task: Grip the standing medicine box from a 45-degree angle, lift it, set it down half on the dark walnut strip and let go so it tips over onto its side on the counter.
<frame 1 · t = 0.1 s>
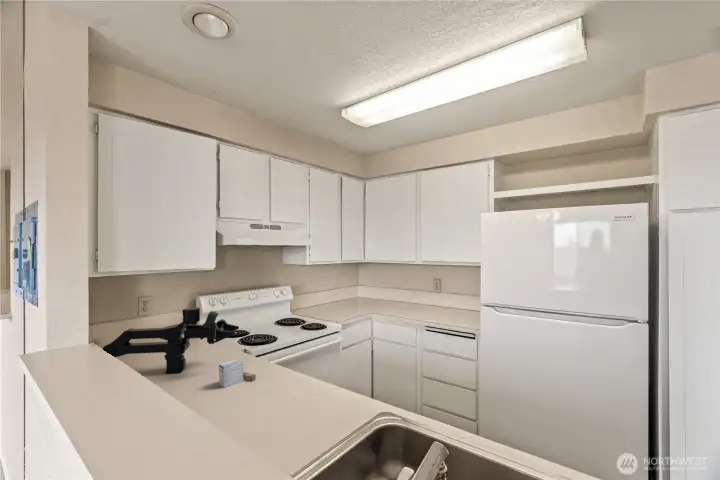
hand: (236, 330, 148), 16 cm above the table, tool horizontal, fingers open, 9 cm apart
walnut tipping strip: (242, 379, 135), on the table
medicine box: (231, 385, 130), on the table
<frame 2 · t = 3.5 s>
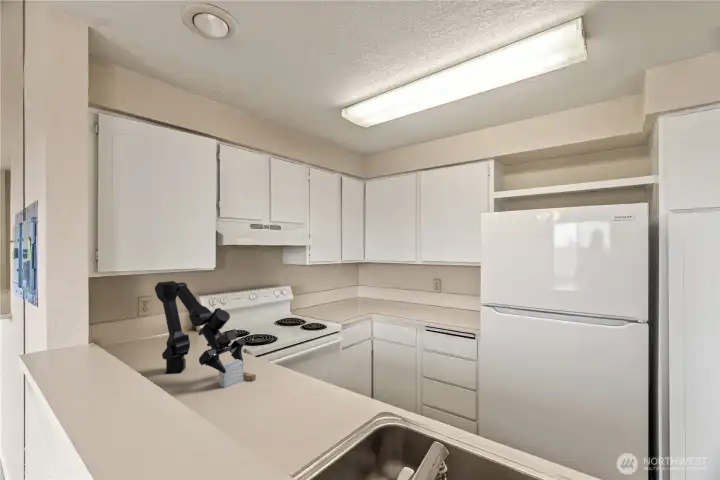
hand: (234, 368, 129), 7 cm above the table, tool tilted 45°, fingers closed on medicine box, 8 cm apart
medicine box: (231, 385, 130), on the table, touching gripper
when the fingers open (10 cm above the table, at t = 7.0 s): medicine box stays where it is, resting on walnut tipping strip.
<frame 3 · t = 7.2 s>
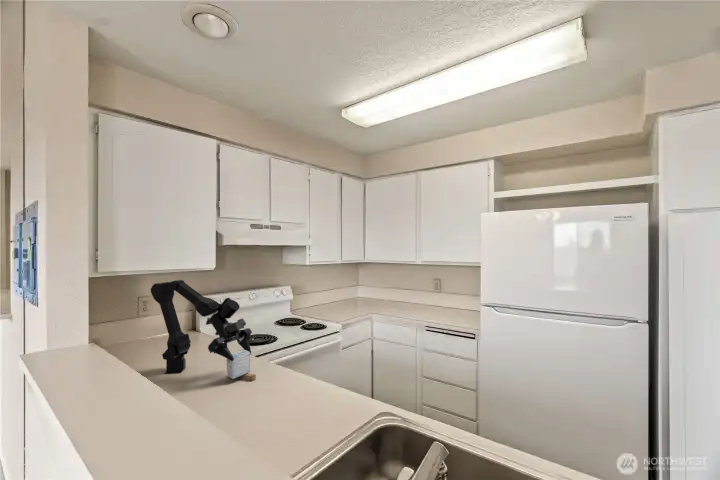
hand: (241, 356, 133), 10 cm above the table, tool tilted 45°, fingers open, 9 cm apart
medicine box: (239, 374, 134), point 2 cm above the table, touching gripper, walnut tipping strip
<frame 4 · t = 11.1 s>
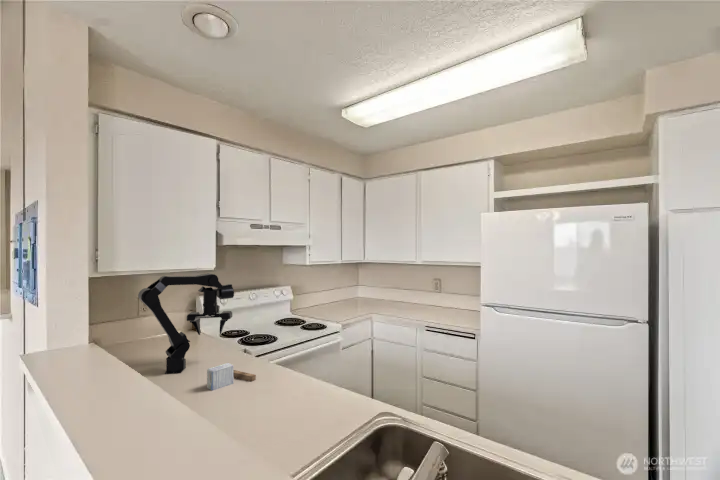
hand: (210, 334, 154), 13 cm above the table, tool pointing down, fingers open, 9 cm apart
medicine box: (231, 373, 131), point 4 cm above the table
at the end: medicine box tilted 89°; the gripper is holding nothing; medicine box inside the target area (1.5 cm from its centre), point 3.9 cm above the table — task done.
